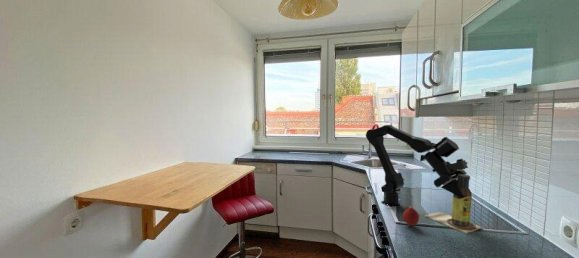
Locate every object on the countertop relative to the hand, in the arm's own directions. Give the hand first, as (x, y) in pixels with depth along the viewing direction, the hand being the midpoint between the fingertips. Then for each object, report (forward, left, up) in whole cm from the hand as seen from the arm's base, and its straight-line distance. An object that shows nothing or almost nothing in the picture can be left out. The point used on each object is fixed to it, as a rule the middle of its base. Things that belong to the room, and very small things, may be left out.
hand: (466, 196), depth 101 cm
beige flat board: (-5, -1, -12) cm, 13 cm away
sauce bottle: (-1, 0, -12) cm, 12 cm away
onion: (-9, -19, -13) cm, 25 cm away
